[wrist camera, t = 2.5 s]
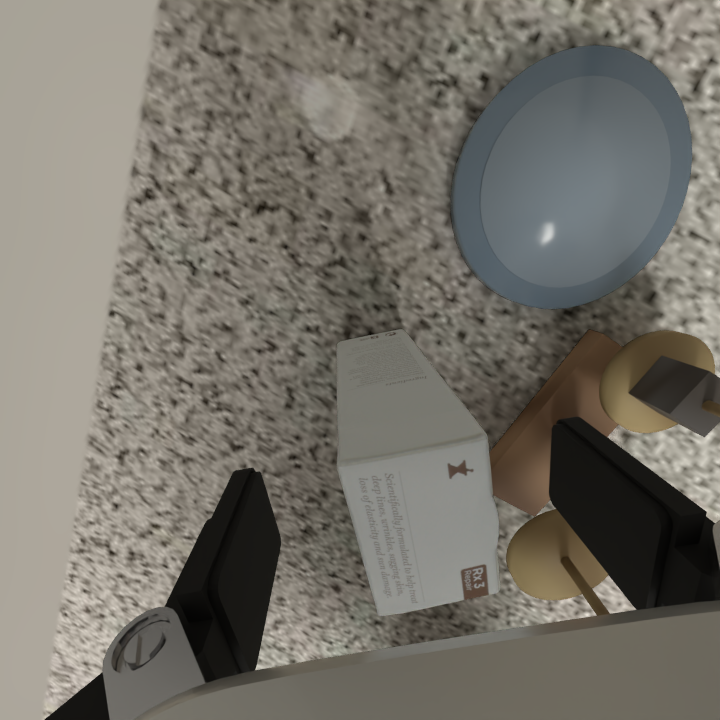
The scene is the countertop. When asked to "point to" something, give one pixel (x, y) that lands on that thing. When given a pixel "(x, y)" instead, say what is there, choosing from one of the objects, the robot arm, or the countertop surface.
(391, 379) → the skincare box
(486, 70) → the countertop surface
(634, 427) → the balance
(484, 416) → the countertop surface
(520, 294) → the dish
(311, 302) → the countertop surface
